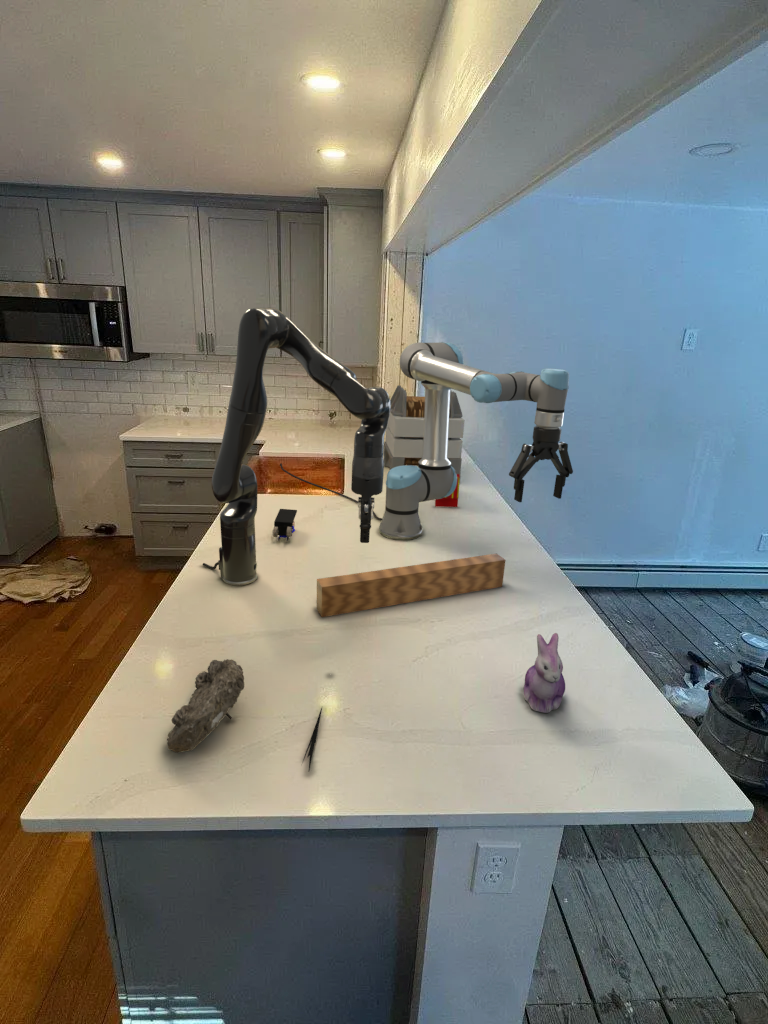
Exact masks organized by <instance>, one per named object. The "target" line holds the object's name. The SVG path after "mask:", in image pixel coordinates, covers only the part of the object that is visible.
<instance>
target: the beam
mask: <svg viewBox="0 0 768 1024" xmlns="http://www.w3.org/2000/svg"><path fill="white" fill-rule="evenodd" d="M505 569H506V559H505V558H504V557H502V556H501V555H500V554H498V553H491V554H484V555H483V554H482V555H476V556H469V557H463V558H462V557H461V558H456V559H455V558H454V559H447V560H441V561H433V562H427V563H419V564H414V565H413V564H412V565H405V566H400V567H399V566H398V567H391V568H384V569H377V570H371V571H364V572H363V571H362V572H358V573H357V572H356V573H350V574H342V575H337V576H329V577H322V578H321V577H320V578H316V610H317V612H318V613H319V615H320V617H321V618H327V617H331V616H338V615H342V614H343V615H344V614H349V613H354V612H360V611H366V610H373V609H379V608H385V607H390V606H396V605H402V604H403V605H404V604H408V603H413V602H419V601H421V602H422V601H426V600H432V599H438V598H442V597H449V596H456V595H461V594H468V593H473V592H479V591H480V592H481V591H486V590H490V589H497V588H502V587H503V585H504V576H505Z"/></svg>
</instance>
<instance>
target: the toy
mask: <svg viewBox="0 0 768 1024" xmlns="http://www.w3.org/2000/svg"><path fill="white" fill-rule="evenodd" d="M459 481H460V482H461V474H457V485H456V488H455V490H454V492H453V493H452V494H451V495H449V496H447V497H444V498H442V499H434V501H435V502H434V507H435V508H458V506H459V495H460V482H459Z"/></svg>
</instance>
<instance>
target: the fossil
mask: <svg viewBox="0 0 768 1024" xmlns="http://www.w3.org/2000/svg"><path fill="white" fill-rule="evenodd" d="M243 670H244V669H243V667H242V665H240V664H237V662H236V661H235V660H234V659H232V658H231V659H227V658H226V659H224V660H223V661H222V660H217V659H212V660H211V661H210V663H209V665H208V666H207V671H201V672H199V673H198V674H197V675H196V676H195V680H194V684H195V685H194V687H195V689H194V690H193V693H192V694H191V697H190V698H189V700H188V704H184V705H182V706H181V707H180V709H177V710H176V711H175V713H174V715H173V716H172V718H171V723H172V724H173V727H172V730H171V731H170V732H168V734H167V738H166V741H167V742H166V745H167V749H168V750H169V751H173V752H174V753H176V754H178V753H182V752H188V751H189V752H192V751H193V750H195V748H196V747H197V746H199V744H200V743H201V742H203V741H204V740H205V739H206V738H207V737H208V736H209V735H210V734H211V733H212V732H214V730H215V729H217V727H218V726H219V724H220V722H221V721H222V720H223V719H224V718H225V716H226V717H227V719H229V720H233V717H232V715H230V714H229V710H230V709H231V708H234V706H235V704H236V703H237V702H238V699H239V697H240V695H241V693H242V691H243V690H245V689H244V688H245V675H244V671H243Z"/></svg>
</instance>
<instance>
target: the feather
mask: <svg viewBox="0 0 768 1024" xmlns="http://www.w3.org/2000/svg"><path fill="white" fill-rule="evenodd" d="M329 675H330V676H331V675H332V674H331V673H330V674H329ZM322 710H323V707H321V708H320V710H319V713H318V716H317V719H316V723H315V725H314V728H313V731H312V733H311V737H310V739H309V742H308V745H307V748H306V751H305V754H304V757H303V760H302V763H301V767H302V765H303V763H304V761H305V758H308V759H309V760H308V762H307V763H308V764H307V766H308V771H310V770H311V766H312V765H311V764H312V760H313V757H315V756H314V755H315V751H316V749H315V746H317V739H318V733H319V729H320V722H321V717H322V712H323V711H322ZM313 754H314V755H313ZM306 755H307V757H306Z"/></svg>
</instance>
